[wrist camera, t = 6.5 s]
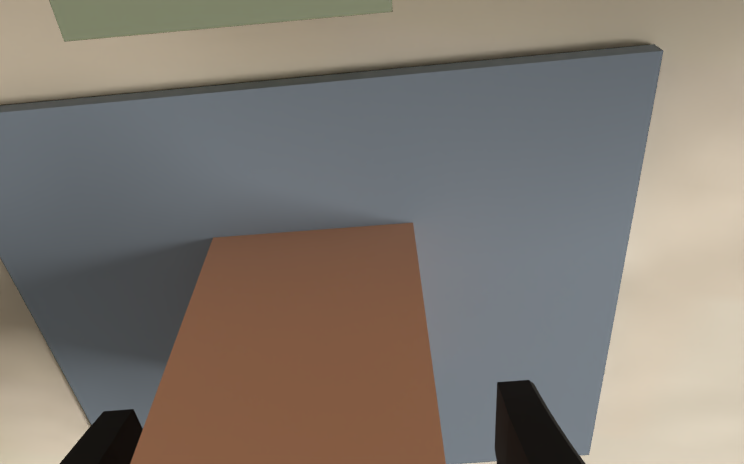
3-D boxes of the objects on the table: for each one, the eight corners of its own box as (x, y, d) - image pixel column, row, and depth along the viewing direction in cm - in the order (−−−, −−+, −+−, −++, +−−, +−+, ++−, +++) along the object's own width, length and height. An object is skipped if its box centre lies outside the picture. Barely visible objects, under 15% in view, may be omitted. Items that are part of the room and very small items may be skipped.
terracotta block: (412, 222, 13) (451, 501, 7) (419, 364, 15) (451, 652, 10) (213, 237, 13) (108, 521, 8) (251, 376, 15) (193, 666, 10)
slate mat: (654, 44, 11) (663, 50, 11) (584, 443, 18) (588, 454, 18) (-63, 111, 12) (-76, 119, 11) (129, 475, 18) (125, 487, 18)
